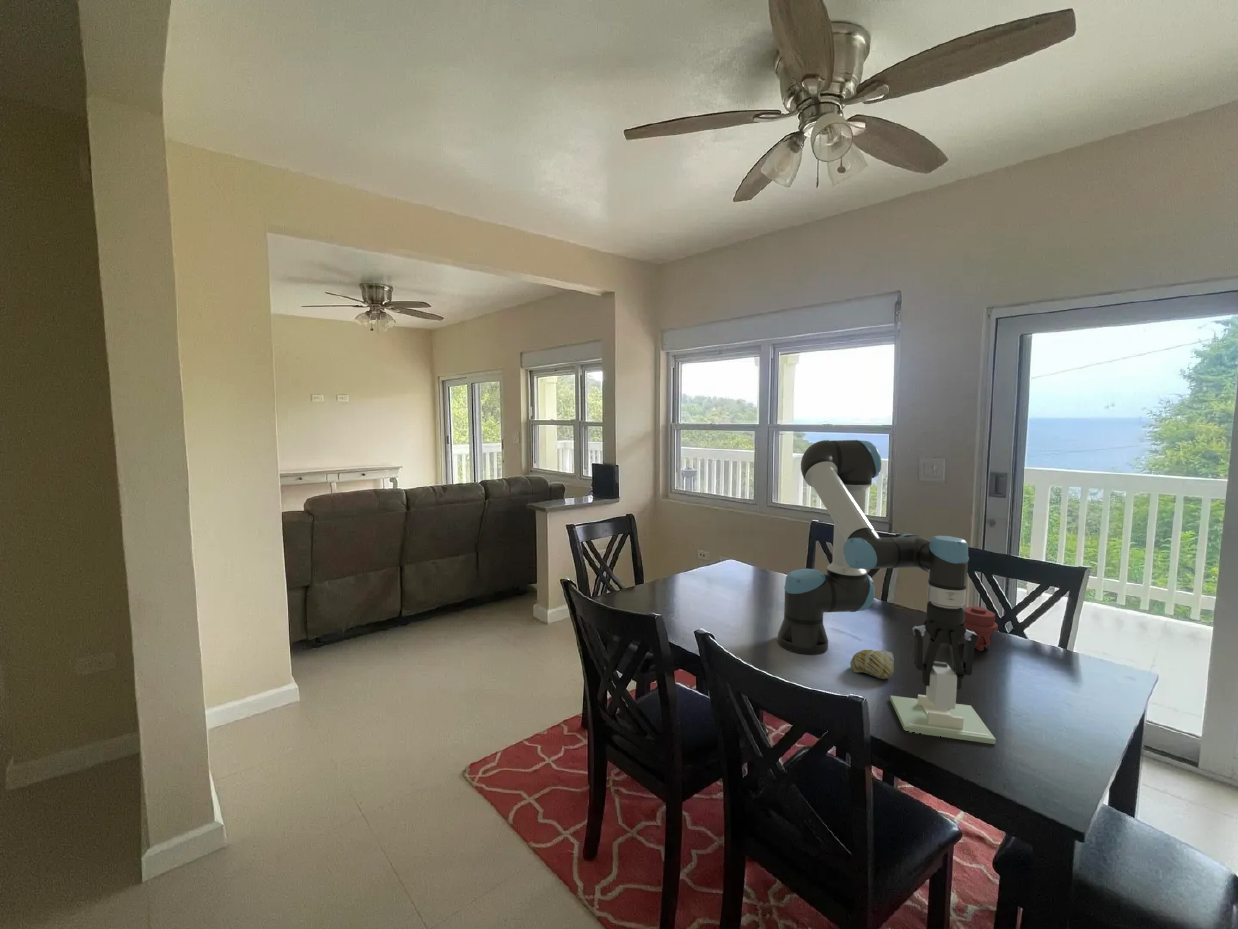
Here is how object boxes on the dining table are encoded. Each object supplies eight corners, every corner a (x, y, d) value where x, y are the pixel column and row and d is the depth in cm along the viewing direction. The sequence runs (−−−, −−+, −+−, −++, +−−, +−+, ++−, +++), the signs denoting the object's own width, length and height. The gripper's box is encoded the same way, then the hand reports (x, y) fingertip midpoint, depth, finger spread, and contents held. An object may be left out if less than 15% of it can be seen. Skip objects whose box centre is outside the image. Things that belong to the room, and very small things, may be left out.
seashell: (841, 663, 152) (857, 633, 152) (870, 678, 152) (886, 648, 152) (858, 679, 142) (875, 646, 142) (889, 695, 142) (906, 662, 142)
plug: (935, 707, 121) (937, 671, 121) (927, 694, 127) (929, 659, 127) (954, 709, 120) (956, 673, 120) (945, 696, 126) (947, 661, 126)
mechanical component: (986, 641, 169) (1002, 654, 159) (952, 638, 171) (966, 651, 161) (989, 604, 168) (1005, 615, 158) (954, 601, 170) (968, 613, 160)
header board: (904, 731, 120) (905, 716, 120) (890, 700, 134) (890, 686, 133) (995, 744, 115) (996, 728, 115) (970, 710, 129) (971, 696, 129)
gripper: (909, 605, 121) (904, 703, 122) (995, 612, 116) (988, 713, 118) (901, 595, 128) (896, 687, 130) (981, 601, 123) (975, 697, 125)
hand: (940, 699), depth 124 cm, fingers closed on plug, 4 cm apart
